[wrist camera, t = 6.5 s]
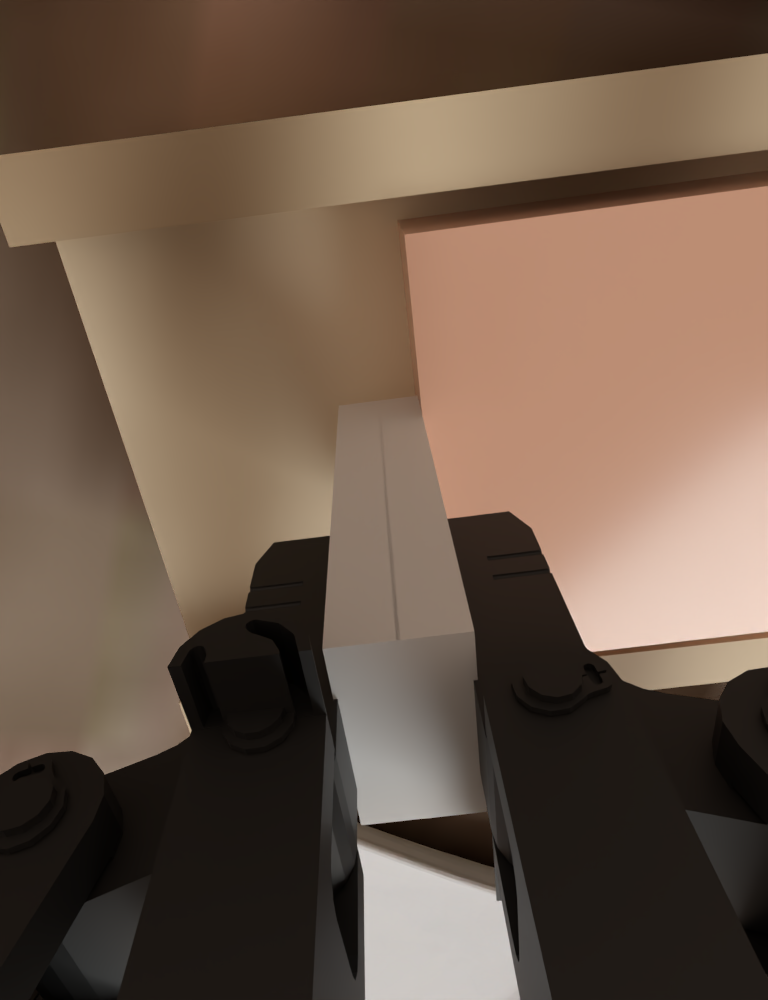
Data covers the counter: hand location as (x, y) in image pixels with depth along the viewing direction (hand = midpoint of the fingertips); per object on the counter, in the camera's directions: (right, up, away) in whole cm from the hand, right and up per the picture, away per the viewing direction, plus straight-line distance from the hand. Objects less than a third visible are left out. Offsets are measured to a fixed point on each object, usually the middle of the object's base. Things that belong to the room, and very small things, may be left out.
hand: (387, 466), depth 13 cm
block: (+8, +1, +1) cm, 8 cm away
